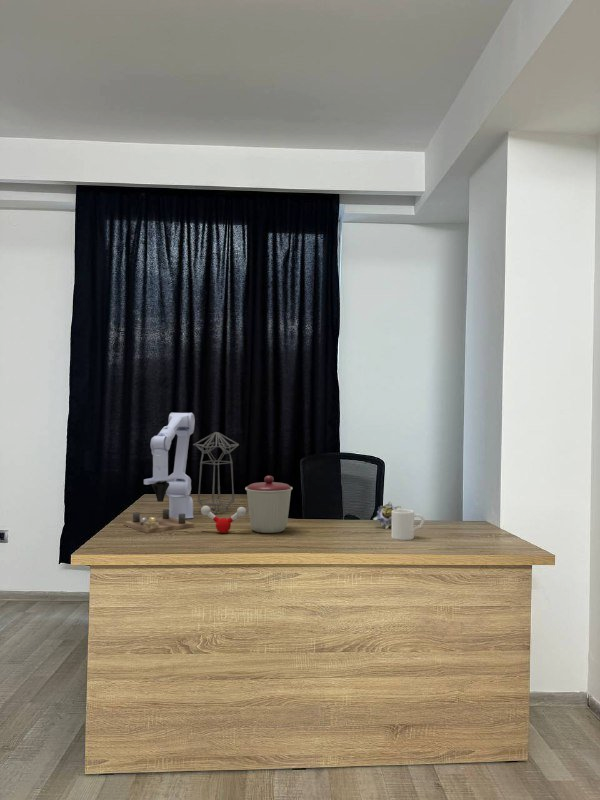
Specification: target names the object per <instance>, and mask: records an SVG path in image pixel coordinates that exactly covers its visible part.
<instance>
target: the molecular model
mask: <svg viewBox="0 0 600 800" xmlns="http://www.w3.org/2000/svg"><path fill="white" fill-rule="evenodd" d="M212 512H213V511H212V510H211V508H210V506H208V505H203V506H202V507H201V508H200V513H201V515H203V516H208V517H209V519H211V520H212V521H213V522H214V523H215V528H216V531H218V532H219V533H220V534H226V533H228V532H229V531H230V529H231V524H232V523H233V522H234V521H235V520H237V519H238V518H239V517H241V518H242V517H245V516H246V514H247V512H248V511H247V508H245V507H244V506H238V508H237V509H236V512H235V513H234V514H233V515H231V516H230V517H228V518H224V517H222V518H219V517H218V516H217V515H215V513H212Z"/></svg>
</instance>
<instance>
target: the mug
mask: <svg viewBox="0 0 600 800" xmlns="http://www.w3.org/2000/svg"><path fill="white" fill-rule="evenodd" d="M415 517H417V518H420V519H421V521H420V523H419V524H418V525H417V526H415ZM425 521H426V520H425V518H424V516H423V515H422V514H420V513H416V514H415V512H414V510H412V509H403V508H400V509H396V510H392V524H391V535H390V536H391V538H392V539H393V540H399V541H411V540H413V539H414V537H415V533H414V532H415V531H416V530H418V529H421V528H422V527H423V526H424V523H425Z"/></svg>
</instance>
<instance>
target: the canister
mask: <svg viewBox="0 0 600 800" xmlns="http://www.w3.org/2000/svg"><path fill="white" fill-rule="evenodd" d="M263 479H264V482H263V481H262V482H254V483H251V484H249V485H247V486H245V488H244V489H245V491H246V495H247V506H248V515H249V523H250V527H251V530H253V532H256V533H260V532H261V534H275V533H276V534H277V533H281V532H284V531H285V530H286V528H287V525H288V519H289V511H290V503H291V493H292V490H293V486H291V485H289V484H288V483H285V482H284V483H283V482H275V481H274V480H275V479H274V476H272V475H266V476H265V477H264V478H263Z"/></svg>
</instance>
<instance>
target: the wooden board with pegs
mask: <svg viewBox="0 0 600 800" xmlns="http://www.w3.org/2000/svg"><path fill="white" fill-rule="evenodd" d="M140 514H141V513H140V512H132V520H127V521H123V526H124V525H125V527H127V526H128V528H130V527H131V528H130V529H133V528H134V530H136V529H137V530H136V531H139V530H140V532H142V531H143V533H145V534H153V532H154V533H160V532H159V531H162V532H167V531H166V530H170V531H175V530H174V529H178V530H183V529H182V528H185V529H191V528H192V527H193V528H195V523H194V522H190V521H187V520H186V519H185V514H179V519H177V518H173V517H170V516H169V508H167V509H165V508H164V509H162V516H159V517H156V522H155V523H149V518H147V522H144V525H142V524H141V515H140Z"/></svg>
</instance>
